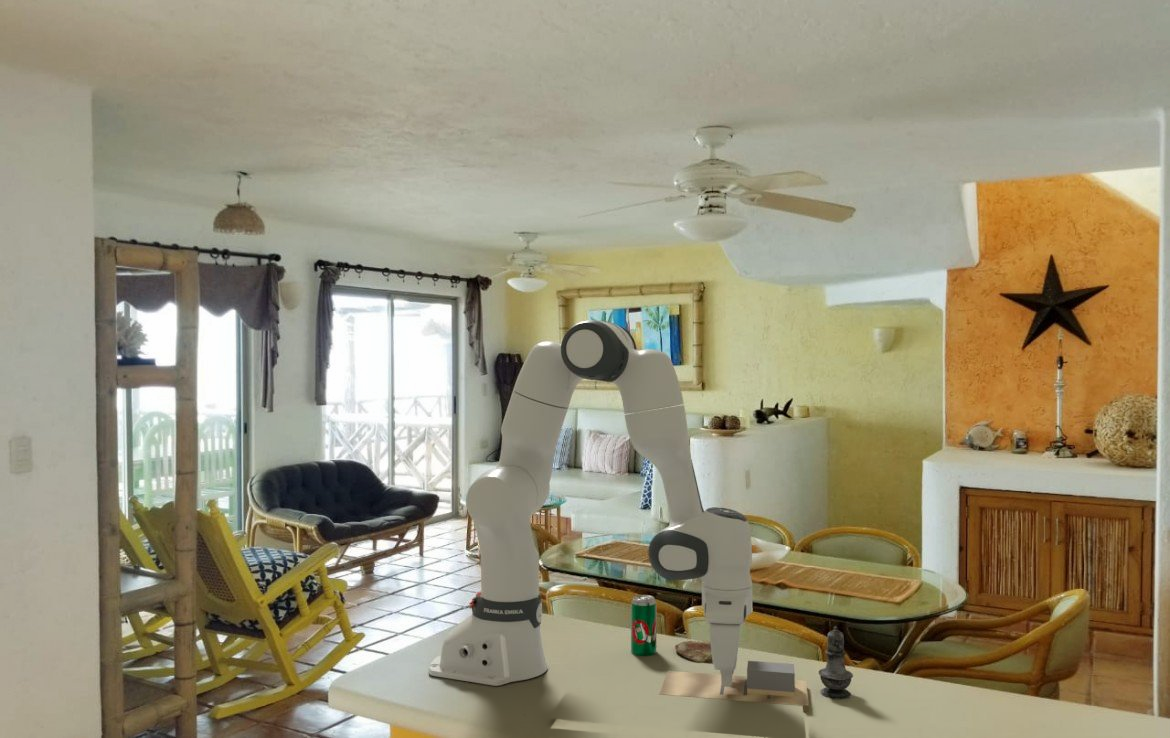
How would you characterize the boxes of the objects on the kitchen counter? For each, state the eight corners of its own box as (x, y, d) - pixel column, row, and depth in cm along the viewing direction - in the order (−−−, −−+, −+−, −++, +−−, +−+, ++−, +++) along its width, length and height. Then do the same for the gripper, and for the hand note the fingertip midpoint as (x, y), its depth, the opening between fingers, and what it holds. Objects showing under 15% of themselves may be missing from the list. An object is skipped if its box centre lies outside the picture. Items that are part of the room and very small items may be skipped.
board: (659, 700, 149) (659, 693, 149) (667, 677, 161) (667, 670, 161) (808, 712, 143) (808, 705, 143) (806, 687, 155) (806, 680, 155)
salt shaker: (817, 697, 150) (816, 628, 150) (820, 686, 156) (819, 619, 156) (852, 701, 148) (852, 631, 148) (854, 690, 154) (853, 622, 154)
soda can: (647, 652, 175) (646, 593, 175) (661, 659, 171) (661, 598, 171) (626, 656, 173) (626, 596, 173) (640, 663, 168) (640, 602, 168)
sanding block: (747, 693, 149) (747, 669, 149) (747, 683, 154) (747, 660, 154) (794, 696, 147) (794, 673, 147) (794, 686, 152) (793, 663, 152)
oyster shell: (670, 650, 178) (670, 634, 178) (718, 648, 179) (718, 633, 179) (680, 671, 165) (680, 655, 165) (732, 669, 165) (732, 653, 165)
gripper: (713, 586, 163) (713, 659, 163) (704, 615, 143) (705, 698, 143) (747, 587, 162) (747, 661, 162) (743, 617, 142) (743, 701, 142)
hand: (727, 679), depth 152 cm, fingers open, 4 cm apart
